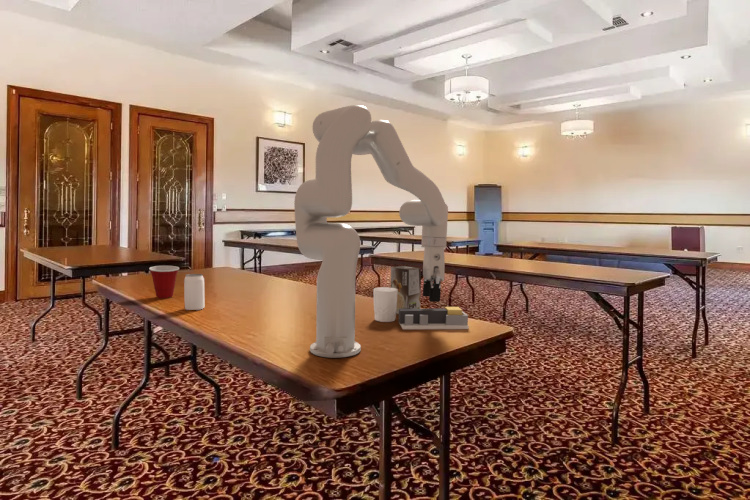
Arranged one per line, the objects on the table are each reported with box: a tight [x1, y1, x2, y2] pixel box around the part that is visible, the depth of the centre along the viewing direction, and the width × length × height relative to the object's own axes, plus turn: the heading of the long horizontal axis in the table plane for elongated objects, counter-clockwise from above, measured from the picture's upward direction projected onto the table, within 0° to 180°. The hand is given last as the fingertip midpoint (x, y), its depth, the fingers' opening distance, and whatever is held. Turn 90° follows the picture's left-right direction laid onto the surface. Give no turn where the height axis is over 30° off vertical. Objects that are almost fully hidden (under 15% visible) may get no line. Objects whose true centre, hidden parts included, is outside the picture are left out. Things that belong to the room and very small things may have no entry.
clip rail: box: [398, 310, 470, 330], centre depth 140 cm, size 9×20×4 cm, turn 95°
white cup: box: [372, 286, 398, 323], centre depth 146 cm, size 8×8×10 cm
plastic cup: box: [149, 265, 180, 299], centre depth 178 cm, size 11×11×12 cm
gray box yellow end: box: [398, 306, 463, 325], centre depth 139 cm, size 19×4×4 cm, turn 95°
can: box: [183, 273, 206, 311], centre depth 157 cm, size 6×6×12 cm
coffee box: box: [390, 265, 422, 315], centre depth 156 cm, size 9×6×16 cm
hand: (431, 298), depth 139 cm, fingers open, 9 cm apart
